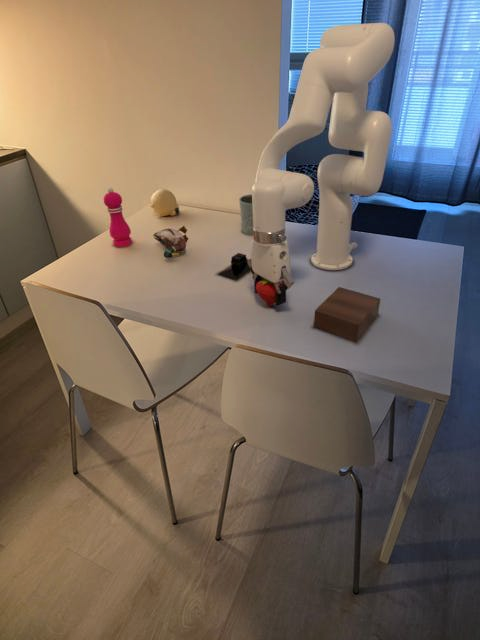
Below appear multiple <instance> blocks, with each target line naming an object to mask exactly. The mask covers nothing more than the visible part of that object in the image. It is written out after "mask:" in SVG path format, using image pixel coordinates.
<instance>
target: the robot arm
mask: <svg viewBox="0 0 480 640" xmlns="http://www.w3.org/2000/svg"><path fill="white" fill-rule="evenodd" d="M395 40H396V39H395V32H394V29H393V28H392V27H391V26H390V24H388V23H385V22H371V23H370V22H369V23H349V24H341V25H340V24H339V25H335V26H332V27H329V28H327V29H325V31H324V32H323V33H322V35H321V37H320V40H319V48H316V49H313V50H311V51H310V52H309V53H308V54H307V55H306V57H305V58H304V61H303V63H302V67H301V72H300V76H299V78H298V82H297V86H296V90H295V93H294V98H293V102H292V104H291V108H290V113H289V116H288V119H287V121H286V122H285V124H284V125H282V126H281V127H280V128H279V129H278V130H277V131H276V132H275V133H274V135H273V136H272V137H271V139H270V140H269V141H268V142H267V144H266V145H265V147H264V149H263V150H262V153H261V155H260V158H259V162H258V166H257V170H256V175H255V180H254V181H255V182H254V183H253V185H252V188H251V194H252V207H253V235H252V236H253V237H252V242H251V251H250V252H251V256H250V258H249V259H247V260H248V261H247V262H248V265H249V267H250V272H251V274H252V280H253V285H254V286H253V287H254V294H255V295H258V293H257V290H256V285H257V283H258V282H259V281H260V280H262V279H263V278H261V277H264V278H266V279H267V280H269V281H271V282H274V284H275V287H276V290H277V292H275V304H274V305H275V306H276V307H279V306H281V305H283V304H285V303H286V302H287V290H289V289H290V288H291V287H292V286H293V285H294V284H295V281H294V279H293V277H292V275H291V255H290V248H289V244H288V243H289V242H288V241H287V236H286V213H287V212H286V211H287V210H291V209H297V208H300V207H303V206H305V205H306V204H308V203H309V202H310V201H311V199H312V198H313V195H314V193H315V184H314V181H313V180H312V178H311V177H310V176H308V175H307V174H304V173H300V172H294V171H293V172H292V171H289V170H283V169H279V168H280V165H281V162H282V160H283V158H284V157H285V156H286V154H287V153H288V152H290V150H291V149H292V148H294V147H295V146H297V145H299V144H300V143H303V142H304V141H308V140H309V139H312V138H314V137H317V136H318V135H321V134H322V133H323V132H324V131H325V128H326V124H327V121H328V117H329V114H330V119H329V124H328V125H329V126H328V142H329V144H330V145H331V146H332V147H333V148H336V149H340V150H346V151H347V150H348V151H355V152H361V153H362V152H363V157H362V156H356V155H350V154H341V153H333V154H329V155H326V156H325V157H323V158H322V159H321V161H320V162H319V164H318V167H317V173H316V174H317V184H318V185H317V186H318V193H319V202H318V203H319V205H318V221H317V238H316V252H314V253H313V254H312V255H311V257H310V262H311V264H312V265H313V266H314V267H316V268H318V269H321V270H325V271H341V270H345V269H348V268H350V267H351V266H352V264H353V255H351V254H350V253H351V252H352V251H353V250H356V249H357V248H358V244H357V242H356V241H355V242H351V243H350V239H351V231H352V222H353V213H354V204H353V203H354V202H353V199H352V197H351V195H354V196H359V197H372V196H375V195H376V194H377V193H378V192H379V190H380V188H381V185H382V183H383V179H384V174H385V169H386V164H387V160H388V154H389V149H390V144H391V139H392V132H393V131H392V129H393V128H392V127H393V125H392V120H391V117H390V115H388V113H386V112H384V111H380V110H370V109H369V110H368V109H367V103H368V94H369V83H371V81H372V80H373V79H374V78H375V77H376V76H377V75H378V74H379V73H380V71H382V70H383V69H384V68H385V66H386V65H387V63H388V62H389V61H390V59H391V57H392V54H393V52H394V48H395ZM279 282H281V283H282V285H283V286H282V287H280V285H279Z"/></svg>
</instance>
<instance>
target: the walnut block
mask: <svg viewBox="0 0 480 640" xmlns="http://www.w3.org/2000/svg"><path fill="white" fill-rule="evenodd" d="M381 301H382V300H381V298H380V297H377V296H372V295H370V294H366V293H363V292H358V291H355V290H351V289H348V288H345V287H341V286H338V287H337V288H336V289H335V290H334V291H333V292H332V293H331V294H330V295H328V297H327V298H326V299H325V300H324V301H322V303H321V304H319V306H318V307H317V308H315V309H314V317H313V318H314V319H313V328H314V329H317V330H320V331H322V332H325V333H329V334H331V335H335V336H338V337H340V338H342V339H345V340H349V341H351V342H354V343H358V341H359V340H360V339H361V337H362V336H363V335H365V332H366V331H367V330H369V329H368V328H369V327H370V326H371V325H372V323H374V321H375V320H376V319H377V317H378V316H379V310H380V305H381Z"/></svg>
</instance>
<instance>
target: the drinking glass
mask: <svg viewBox="0 0 480 640" xmlns="http://www.w3.org/2000/svg"><path fill="white" fill-rule="evenodd" d="M238 200H239V208H240V209H239V210H240V220H241V231H242V233H243V234H245V235H248V236H253V207H252V193H251V194H245V195H242V196H240V197H239V199H238Z"/></svg>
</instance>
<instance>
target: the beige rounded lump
mask: <svg viewBox="0 0 480 640" xmlns="http://www.w3.org/2000/svg"><path fill="white" fill-rule="evenodd" d="M149 204H150V207H151V209H153V211H154V212H155V213H156V214H157V217H158V218H161V217H167V216H171V217H172V216H173V217H174V216H177V215H178V214H179V213H180V205H179V204H178V202H177V199H176V196H175V194H174V193H173V192H172V191H170V190H169V189H167V188H160V189H158V190H156V191H154V192H153V194H152V195H151V197H150V200H149Z"/></svg>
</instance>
